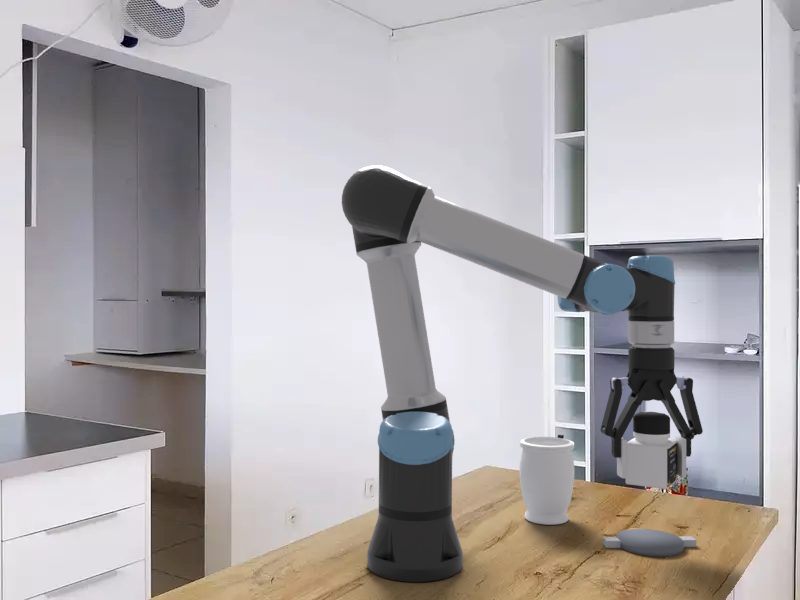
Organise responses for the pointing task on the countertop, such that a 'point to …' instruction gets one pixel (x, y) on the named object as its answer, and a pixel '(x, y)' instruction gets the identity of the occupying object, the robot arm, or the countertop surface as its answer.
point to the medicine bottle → (651, 452)
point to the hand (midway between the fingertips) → (651, 475)
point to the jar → (546, 478)
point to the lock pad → (649, 542)
